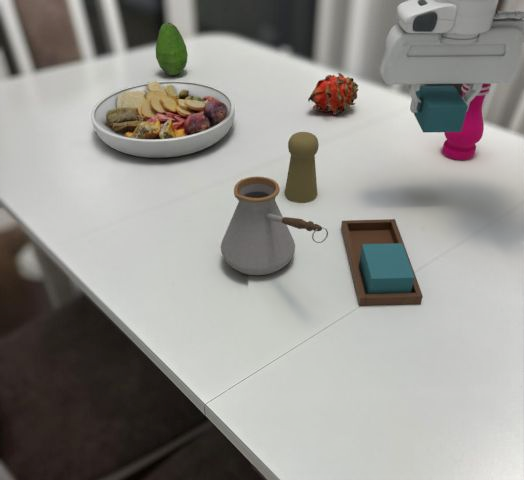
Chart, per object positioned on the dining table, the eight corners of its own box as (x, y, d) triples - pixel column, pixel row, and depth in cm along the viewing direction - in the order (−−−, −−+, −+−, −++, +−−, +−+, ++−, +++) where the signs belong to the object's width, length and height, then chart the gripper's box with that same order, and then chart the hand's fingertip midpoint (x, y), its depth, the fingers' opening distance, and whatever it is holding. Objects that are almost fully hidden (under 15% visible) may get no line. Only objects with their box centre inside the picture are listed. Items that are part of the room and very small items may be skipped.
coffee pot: (209, 254, 85) (200, 166, 74) (270, 232, 89) (270, 146, 78) (280, 335, 72) (282, 244, 61) (347, 305, 76) (360, 215, 65)
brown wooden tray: (392, 230, 89) (394, 218, 87) (419, 308, 76) (422, 296, 74) (340, 232, 89) (341, 220, 87) (358, 310, 75) (360, 298, 74)
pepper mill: (437, 158, 105) (464, 48, 91) (441, 142, 110) (467, 35, 95) (475, 164, 104) (509, 52, 89) (477, 147, 108) (510, 39, 94)
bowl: (69, 153, 108) (58, 115, 102) (135, 96, 128) (129, 61, 122) (205, 174, 102) (202, 134, 96) (253, 111, 121) (252, 74, 116)
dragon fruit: (360, 116, 123) (311, 129, 122) (348, 83, 123) (300, 96, 123) (368, 94, 114) (315, 109, 114) (356, 59, 115) (303, 73, 114)
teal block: (397, 264, 81) (402, 243, 78) (409, 299, 76) (414, 277, 73) (358, 265, 81) (362, 244, 78) (367, 300, 76) (371, 278, 73)
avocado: (170, 82, 133) (163, 29, 125) (153, 74, 137) (145, 22, 129) (195, 74, 137) (190, 22, 128) (177, 66, 141) (171, 15, 132)
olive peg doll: (278, 190, 98) (279, 132, 90) (306, 182, 100) (310, 124, 92) (294, 206, 94) (297, 146, 86) (323, 197, 96) (328, 138, 88)
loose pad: (447, 110, 88) (454, 85, 85) (461, 132, 83) (468, 106, 80) (412, 110, 88) (417, 85, 85) (423, 132, 83) (428, 106, 80)
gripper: (527, 4, 77) (496, 102, 87) (386, 5, 76) (372, 103, 86) (543, 17, 72) (509, 118, 82) (394, 18, 72) (378, 120, 82)
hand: (437, 111), depth 84 cm, fingers closed on loose pad, 6 cm apart
